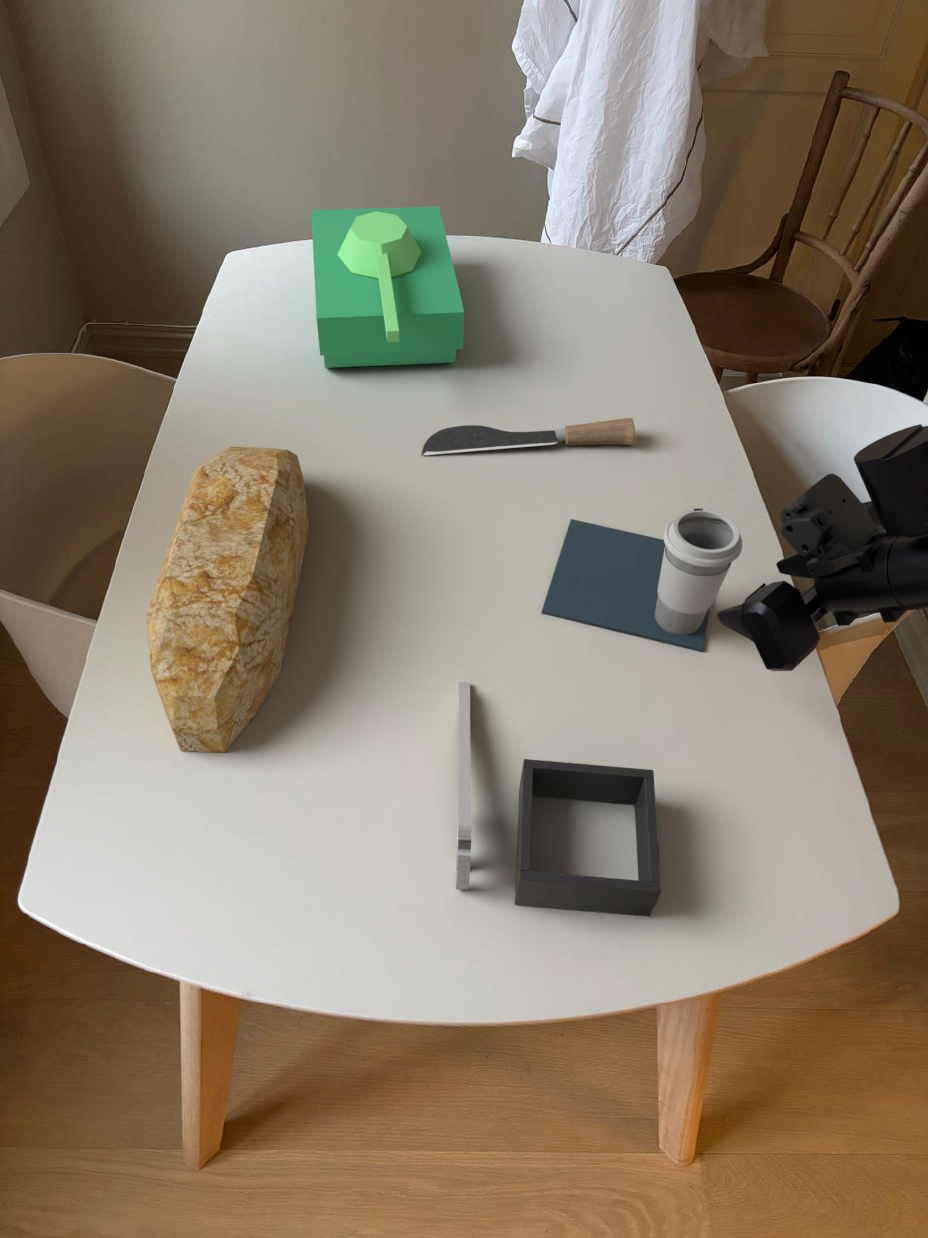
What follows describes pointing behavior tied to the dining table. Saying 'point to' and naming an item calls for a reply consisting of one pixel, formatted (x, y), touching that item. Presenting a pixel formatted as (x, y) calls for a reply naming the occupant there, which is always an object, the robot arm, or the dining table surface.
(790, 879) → the dining table surface
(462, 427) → the hand tool
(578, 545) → the mat
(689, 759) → the dining table surface
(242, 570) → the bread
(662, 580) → the cup
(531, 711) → the dining table surface
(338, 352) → the toy tank
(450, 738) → the dining table surface
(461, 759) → the caliper
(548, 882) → the holder
